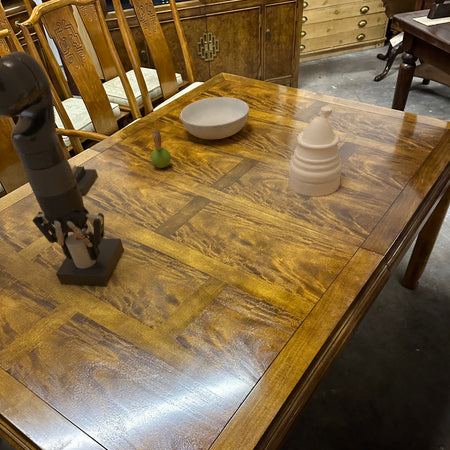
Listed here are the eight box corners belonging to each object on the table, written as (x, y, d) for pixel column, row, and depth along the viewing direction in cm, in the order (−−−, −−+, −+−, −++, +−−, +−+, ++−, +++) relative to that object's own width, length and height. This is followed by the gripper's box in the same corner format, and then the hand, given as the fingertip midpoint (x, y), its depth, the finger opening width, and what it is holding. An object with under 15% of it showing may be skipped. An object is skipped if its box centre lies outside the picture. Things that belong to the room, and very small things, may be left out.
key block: (46, 195, 112) (40, 182, 109) (61, 175, 119) (56, 162, 116) (85, 196, 111) (80, 182, 108) (98, 176, 117) (93, 163, 114)
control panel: (60, 284, 87) (55, 273, 85) (82, 247, 95) (78, 237, 93) (106, 286, 86) (102, 275, 83) (124, 249, 94) (120, 238, 92)
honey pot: (314, 164, 113) (320, 95, 100) (350, 183, 106) (362, 111, 93) (278, 182, 109) (280, 111, 96) (313, 202, 101) (320, 129, 88)
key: (59, 177, 111) (57, 171, 110) (65, 170, 114) (62, 164, 112) (72, 177, 111) (70, 171, 109) (77, 170, 113) (75, 164, 112)
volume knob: (71, 268, 86) (61, 244, 81) (79, 254, 89) (69, 230, 84) (92, 269, 85) (82, 244, 80) (99, 255, 88) (90, 231, 83)
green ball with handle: (152, 174, 116) (142, 132, 107) (154, 162, 120) (145, 121, 112) (171, 172, 116) (163, 130, 107) (172, 161, 120) (165, 119, 112)
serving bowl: (202, 114, 141) (200, 93, 136) (259, 122, 134) (259, 100, 129) (170, 142, 129) (167, 120, 124) (232, 152, 121) (230, 129, 116)
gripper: (6, 194, 72) (44, 268, 85) (83, 195, 70) (111, 271, 82) (26, 172, 77) (59, 244, 90) (99, 172, 75) (122, 246, 87)
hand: (84, 256), depth 86 cm, fingers closed on volume knob, 4 cm apart
